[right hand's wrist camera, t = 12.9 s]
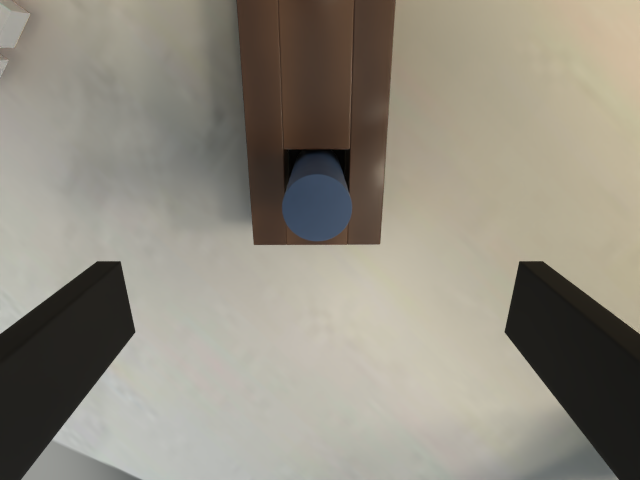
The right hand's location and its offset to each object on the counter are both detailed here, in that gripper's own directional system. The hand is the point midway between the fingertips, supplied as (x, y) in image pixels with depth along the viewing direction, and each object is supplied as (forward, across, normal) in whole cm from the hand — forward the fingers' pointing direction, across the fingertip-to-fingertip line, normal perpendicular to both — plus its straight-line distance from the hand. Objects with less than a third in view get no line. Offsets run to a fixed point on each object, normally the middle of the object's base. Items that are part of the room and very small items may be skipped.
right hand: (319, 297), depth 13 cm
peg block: (+21, 0, -9) cm, 23 cm away
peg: (+22, 0, 0) cm, 22 cm away
